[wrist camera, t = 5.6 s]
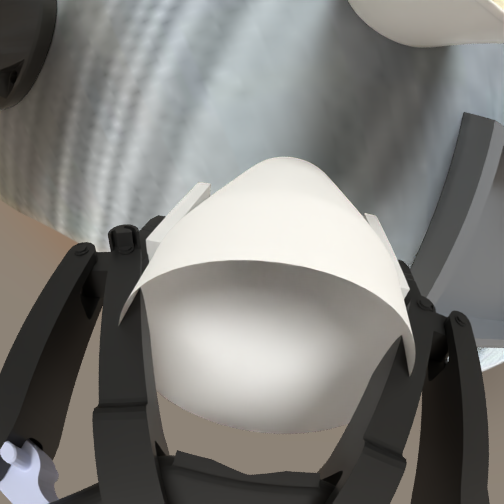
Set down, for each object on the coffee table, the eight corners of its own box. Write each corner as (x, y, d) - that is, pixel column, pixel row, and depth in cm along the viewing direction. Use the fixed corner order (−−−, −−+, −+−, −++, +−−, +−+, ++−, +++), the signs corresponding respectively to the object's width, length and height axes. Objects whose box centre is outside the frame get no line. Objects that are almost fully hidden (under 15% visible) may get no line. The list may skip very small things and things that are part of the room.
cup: (360, 258, 18) (392, 426, 8) (236, 272, 21) (186, 426, 11) (348, 125, 14) (454, 222, 4) (197, 153, 16) (61, 272, 6)
